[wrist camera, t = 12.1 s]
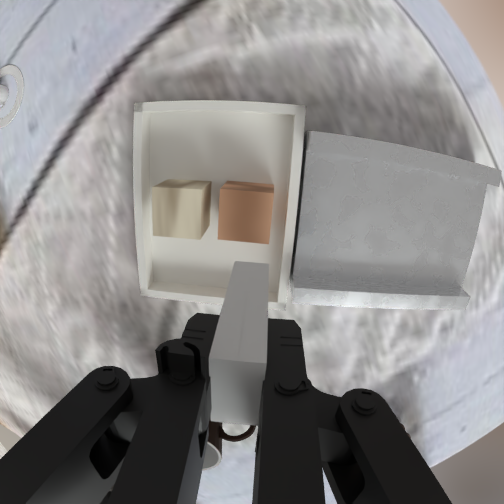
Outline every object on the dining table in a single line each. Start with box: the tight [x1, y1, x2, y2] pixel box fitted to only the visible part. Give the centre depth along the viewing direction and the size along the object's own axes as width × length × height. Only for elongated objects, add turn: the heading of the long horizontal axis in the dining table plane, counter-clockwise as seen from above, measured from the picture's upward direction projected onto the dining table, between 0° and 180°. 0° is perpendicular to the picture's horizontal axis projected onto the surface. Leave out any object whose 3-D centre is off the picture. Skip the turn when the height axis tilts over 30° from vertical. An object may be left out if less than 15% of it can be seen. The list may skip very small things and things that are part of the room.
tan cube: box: [218, 181, 274, 244], centre depth 26 cm, size 4×4×4 cm
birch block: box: [152, 179, 212, 240], centre depth 26 cm, size 4×4×4 cm
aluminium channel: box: [290, 131, 501, 310], centre depth 26 cm, size 18×14×4 cm
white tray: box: [133, 100, 306, 310], centre depth 27 cm, size 14×18×2 cm
